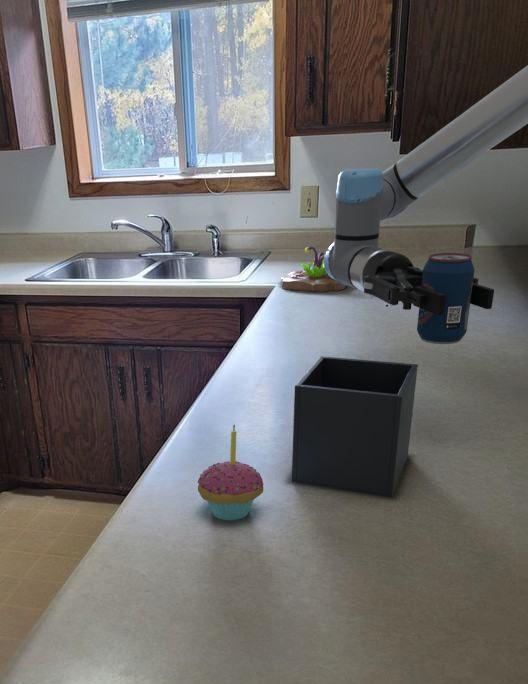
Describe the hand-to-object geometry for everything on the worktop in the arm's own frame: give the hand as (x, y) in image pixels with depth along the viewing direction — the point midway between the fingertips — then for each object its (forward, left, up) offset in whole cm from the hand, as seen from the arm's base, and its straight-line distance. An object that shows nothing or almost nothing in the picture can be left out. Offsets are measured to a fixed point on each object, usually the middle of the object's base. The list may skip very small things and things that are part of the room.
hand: (466, 302), depth 103 cm
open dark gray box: (+12, +12, -23) cm, 28 cm away
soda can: (+3, -4, -7) cm, 8 cm away
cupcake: (+24, +30, -23) cm, 45 cm away
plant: (+50, -113, -23) cm, 125 cm away
